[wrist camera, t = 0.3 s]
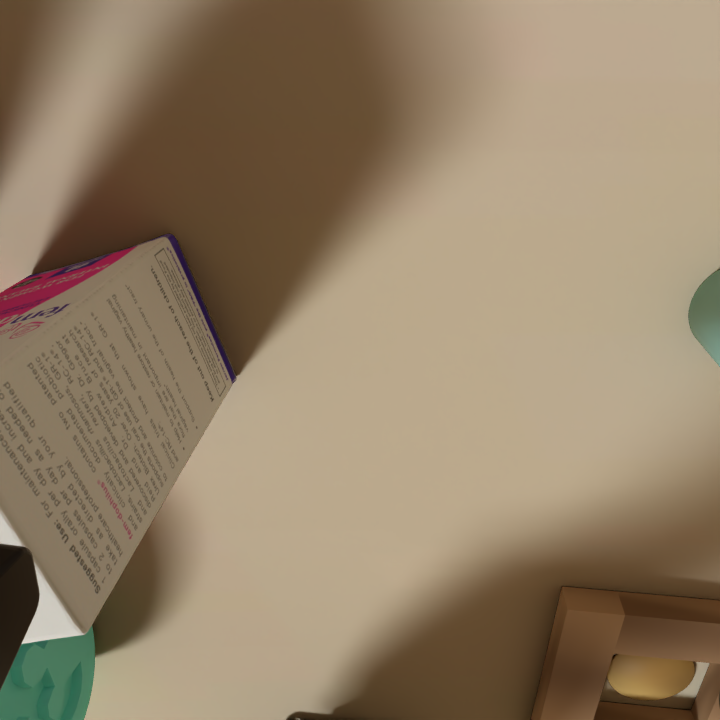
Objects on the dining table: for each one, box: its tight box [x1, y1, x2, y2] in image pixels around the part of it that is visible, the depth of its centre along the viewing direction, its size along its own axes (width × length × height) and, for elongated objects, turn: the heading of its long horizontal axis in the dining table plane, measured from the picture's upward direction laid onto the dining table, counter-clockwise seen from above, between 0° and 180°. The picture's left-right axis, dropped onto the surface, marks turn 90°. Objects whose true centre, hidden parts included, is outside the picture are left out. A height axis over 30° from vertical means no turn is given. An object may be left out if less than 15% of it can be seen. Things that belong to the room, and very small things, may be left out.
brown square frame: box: [531, 586, 720, 720], centre depth 28 cm, size 9×9×1 cm
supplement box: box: [0, 234, 236, 644], centre depth 18 cm, size 6×6×12 cm
